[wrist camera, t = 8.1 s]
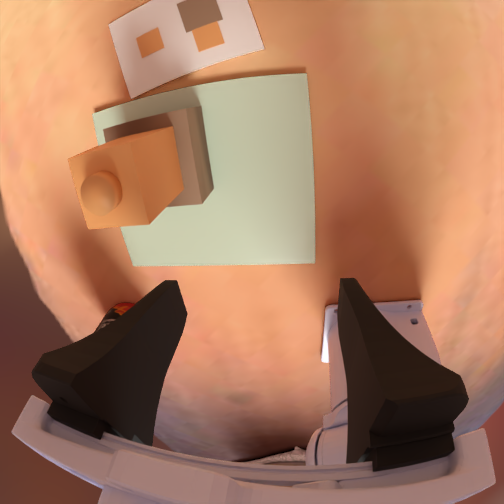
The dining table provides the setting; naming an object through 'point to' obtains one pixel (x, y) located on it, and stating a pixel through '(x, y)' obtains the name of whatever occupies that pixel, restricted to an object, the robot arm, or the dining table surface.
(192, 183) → the base block
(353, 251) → the dining table surface
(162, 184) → the brick
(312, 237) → the board
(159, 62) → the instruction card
